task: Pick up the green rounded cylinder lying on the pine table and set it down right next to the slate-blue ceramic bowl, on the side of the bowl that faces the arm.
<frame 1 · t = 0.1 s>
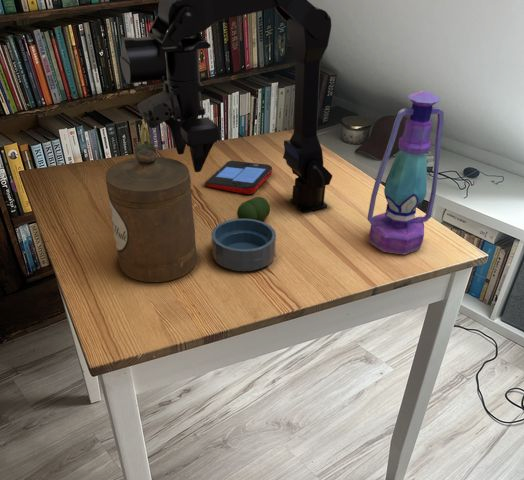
hand: (188, 162, 110), 15 cm above the table, tool pointing down, fingers open, 9 cm apart
bowl: (243, 256, 112), on the table
wooden container: (158, 262, 110), on the table
lantern: (394, 243, 118), on the table
vegetable: (152, 214, 124), on the table
green rounded cylinder: (253, 221, 123), on the table
game console: (240, 180, 138), on the table
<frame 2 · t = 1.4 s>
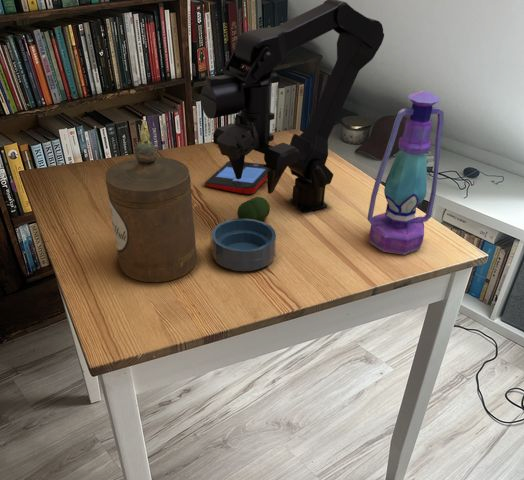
hand: (254, 185, 117), 8 cm above the table, tool pointing down, fingers open, 9 cm apart
nothing on the table moved.
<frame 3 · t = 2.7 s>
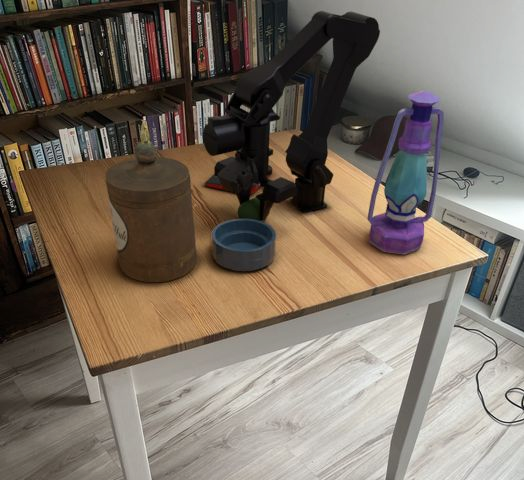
hand: (253, 216, 122), 1 cm above the table, tool pointing down, fingers closed on green rounded cylinder, 5 cm apart
green rounded cylinder: (253, 221, 123), on the table, touching gripper
everything else where it was.
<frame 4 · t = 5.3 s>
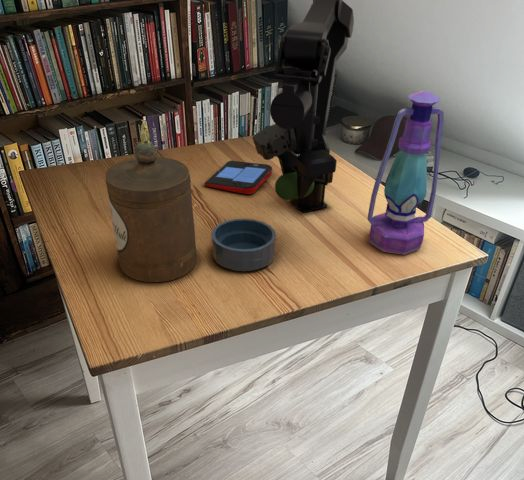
hand: (294, 191, 110), 11 cm above the table, tool pointing down, fingers closed on green rounded cylinder, 5 cm apart
green rounded cylinder: (293, 197, 111), point 9 cm above the table, touching gripper
everything else where it was.
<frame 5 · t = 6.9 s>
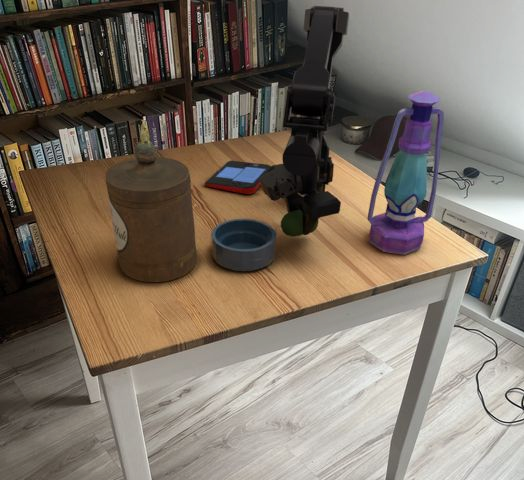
hand: (299, 228, 114), 3 cm above the table, tool pointing down, fingers closed on green rounded cylinder, 5 cm apart
green rounded cylinder: (298, 233, 115), point 2 cm above the table, touching gripper
everything else where it was.
when the fingers open (1 cm above the table, at t = 7.9 s): green rounded cylinder stays where it is, on the table.
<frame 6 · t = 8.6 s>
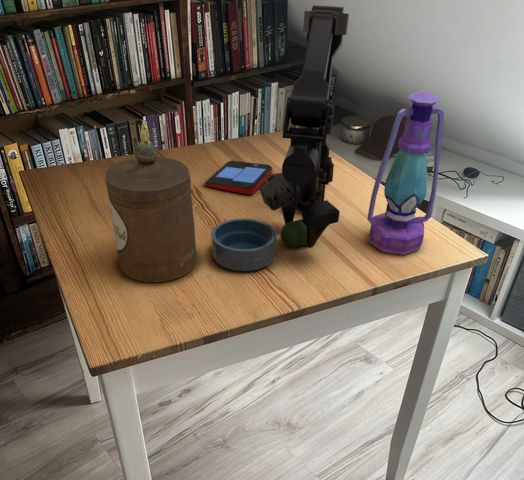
hand: (298, 236, 115), 2 cm above the table, tool pointing down, fingers open, 9 cm apart
green rounded cylinder: (298, 243, 116), on the table
everything else where it was.
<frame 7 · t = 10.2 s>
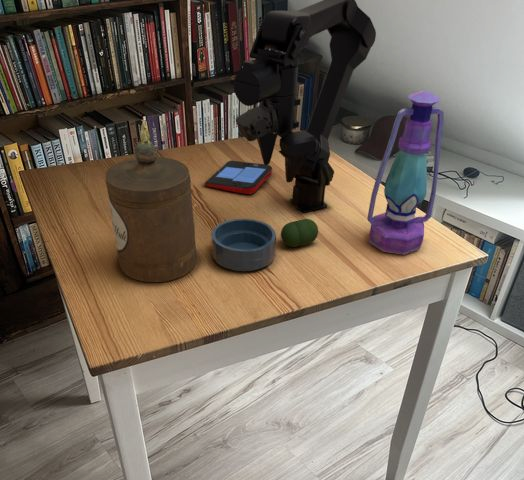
hand: (277, 173, 114), 12 cm above the table, tool pointing down, fingers open, 9 cm apart
nothing on the table moved.
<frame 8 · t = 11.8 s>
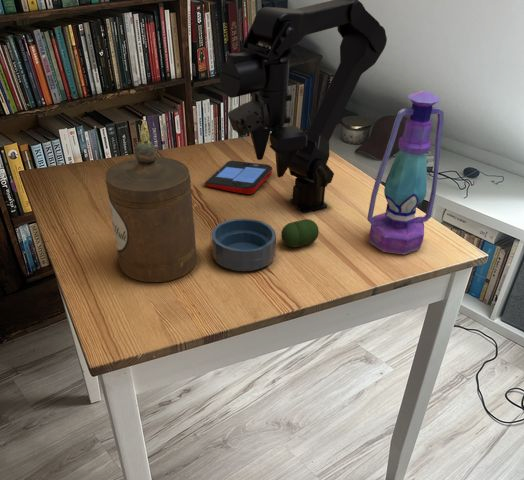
hand: (269, 167, 115), 12 cm above the table, tool pointing down, fingers open, 9 cm apart
nothing on the table moved.
at the end: green rounded cylinder inside the target area on the table beside the bowl (0.0 cm from its centre), on the table; the gripper is holding nothing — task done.
